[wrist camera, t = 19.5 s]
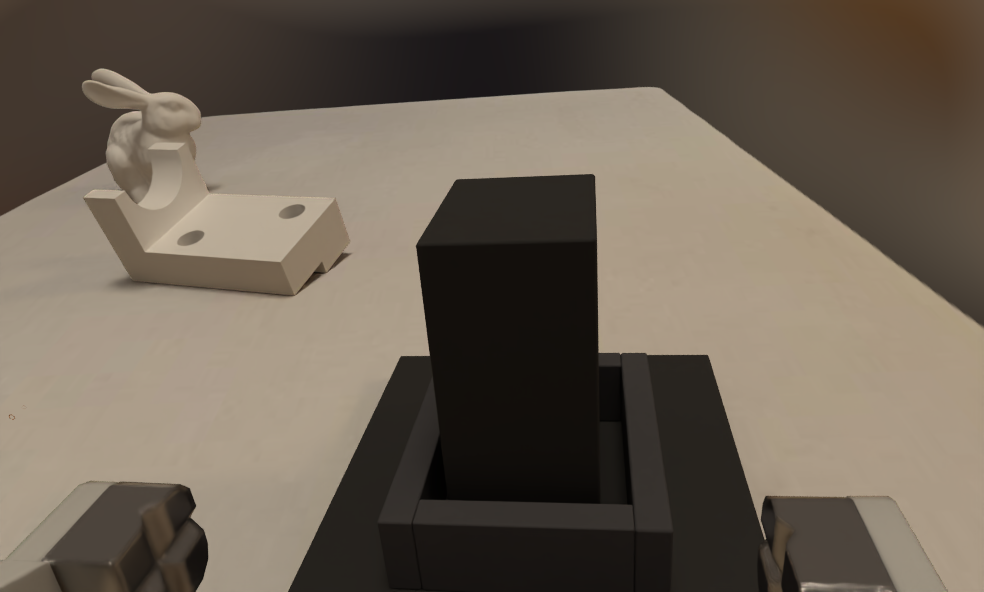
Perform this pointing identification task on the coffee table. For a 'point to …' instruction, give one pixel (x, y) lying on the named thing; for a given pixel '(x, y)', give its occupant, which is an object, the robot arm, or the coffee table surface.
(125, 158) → the rabbit
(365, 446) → the base pad
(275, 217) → the bracket
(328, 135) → the coffee table surface
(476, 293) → the pad block
